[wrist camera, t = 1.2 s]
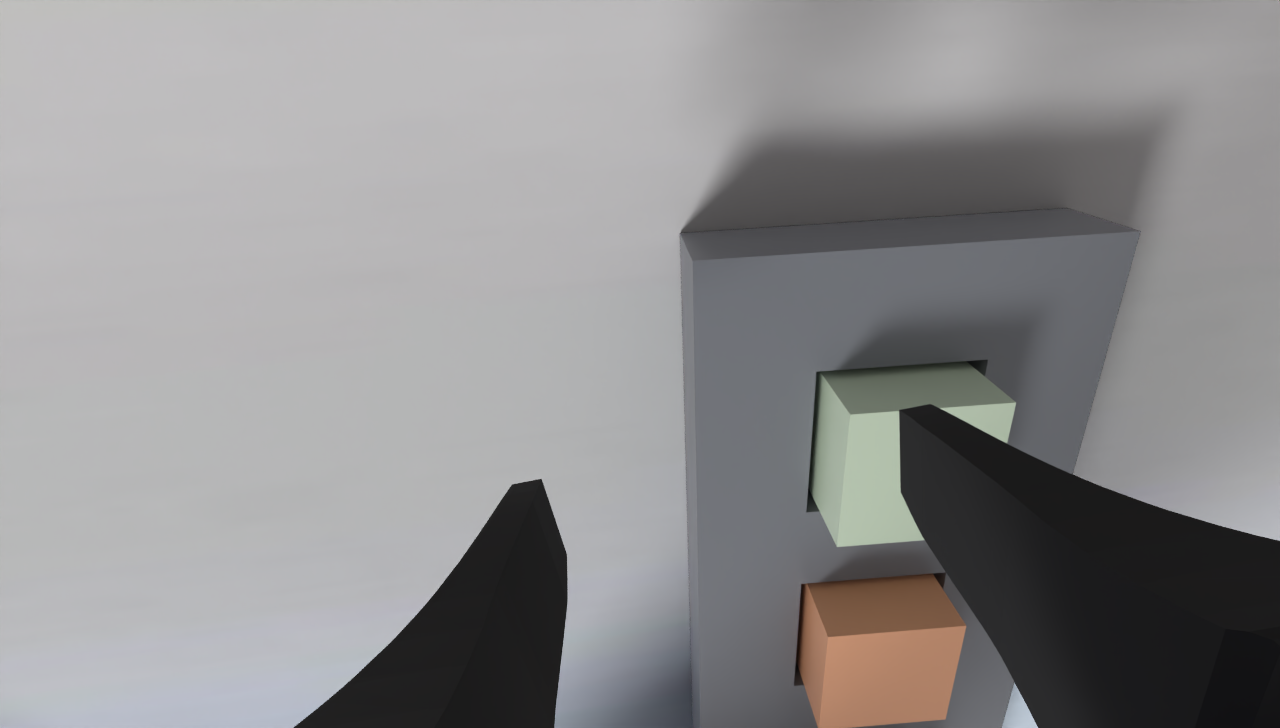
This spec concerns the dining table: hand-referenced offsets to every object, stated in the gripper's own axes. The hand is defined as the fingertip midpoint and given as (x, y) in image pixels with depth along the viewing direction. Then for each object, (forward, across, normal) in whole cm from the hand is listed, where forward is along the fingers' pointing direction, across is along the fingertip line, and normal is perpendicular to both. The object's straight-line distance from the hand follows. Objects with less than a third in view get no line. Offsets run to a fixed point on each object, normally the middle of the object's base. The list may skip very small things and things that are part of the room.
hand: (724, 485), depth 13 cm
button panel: (+8, -4, +12) cm, 15 cm away
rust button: (+7, -4, +12) cm, 14 cm away
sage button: (+7, -6, +4) cm, 10 cm away
